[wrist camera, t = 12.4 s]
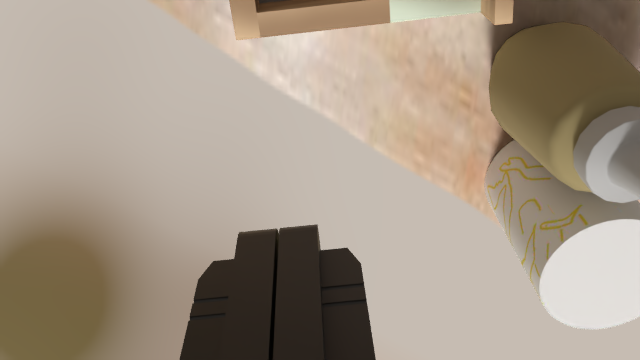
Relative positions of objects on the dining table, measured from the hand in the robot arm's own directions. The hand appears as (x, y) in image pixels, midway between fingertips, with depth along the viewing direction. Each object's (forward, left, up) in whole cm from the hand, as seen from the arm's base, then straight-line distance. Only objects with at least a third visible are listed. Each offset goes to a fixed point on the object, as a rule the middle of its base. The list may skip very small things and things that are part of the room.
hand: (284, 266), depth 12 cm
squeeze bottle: (+8, +16, -30) cm, 35 cm away
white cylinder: (+17, +17, -30) cm, 38 cm away
